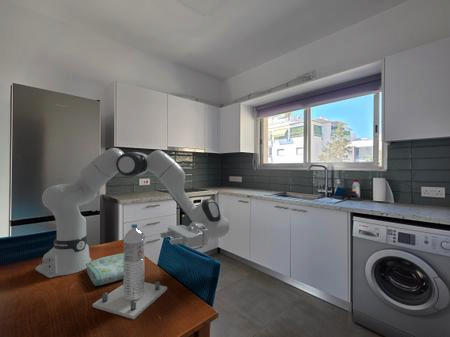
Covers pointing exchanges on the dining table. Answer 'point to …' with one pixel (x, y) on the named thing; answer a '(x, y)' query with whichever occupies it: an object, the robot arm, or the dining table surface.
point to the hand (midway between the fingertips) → (165, 238)
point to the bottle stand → (129, 309)
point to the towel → (106, 269)
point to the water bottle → (133, 264)
